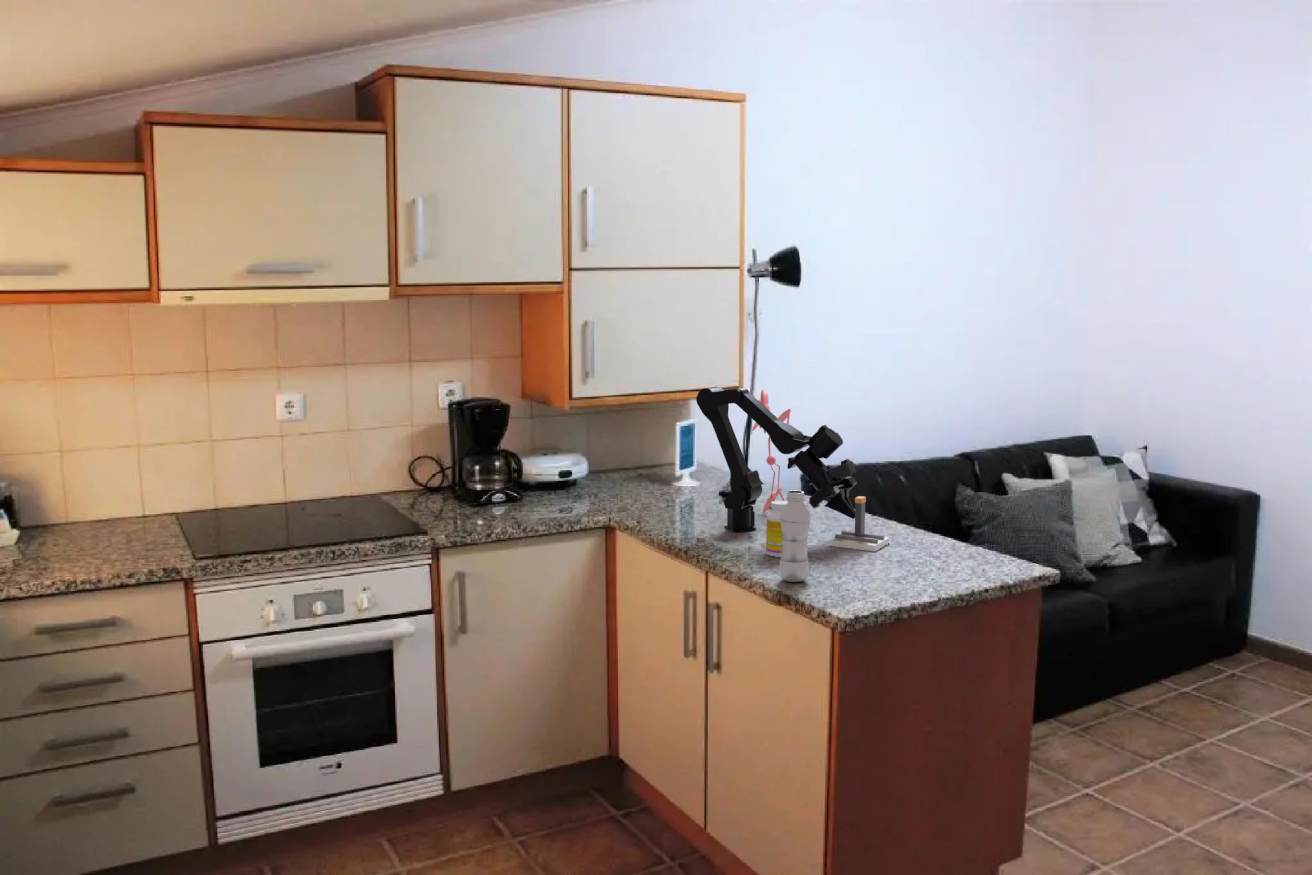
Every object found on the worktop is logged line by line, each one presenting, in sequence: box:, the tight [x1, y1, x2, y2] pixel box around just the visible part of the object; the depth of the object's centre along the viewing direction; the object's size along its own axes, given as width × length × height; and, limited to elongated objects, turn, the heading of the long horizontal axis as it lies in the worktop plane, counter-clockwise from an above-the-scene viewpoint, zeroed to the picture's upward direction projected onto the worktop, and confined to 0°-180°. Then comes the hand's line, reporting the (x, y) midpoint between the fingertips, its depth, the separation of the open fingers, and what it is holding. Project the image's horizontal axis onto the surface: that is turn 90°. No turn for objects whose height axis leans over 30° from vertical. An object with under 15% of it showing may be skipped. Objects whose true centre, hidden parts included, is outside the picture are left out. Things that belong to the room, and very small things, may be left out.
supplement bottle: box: [765, 500, 788, 558], centre depth 266 cm, size 7×7×13 cm
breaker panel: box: [828, 530, 890, 552], centre depth 277 cm, size 12×10×2 cm
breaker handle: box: [854, 495, 867, 537], centre depth 276 cm, size 2×3×10 cm, turn 148°
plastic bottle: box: [778, 490, 812, 583], centre depth 242 cm, size 6×7×20 cm
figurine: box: [751, 388, 792, 515], centre depth 317 cm, size 15×26×35 cm, turn 162°
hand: (855, 517), depth 277 cm, fingers closed
